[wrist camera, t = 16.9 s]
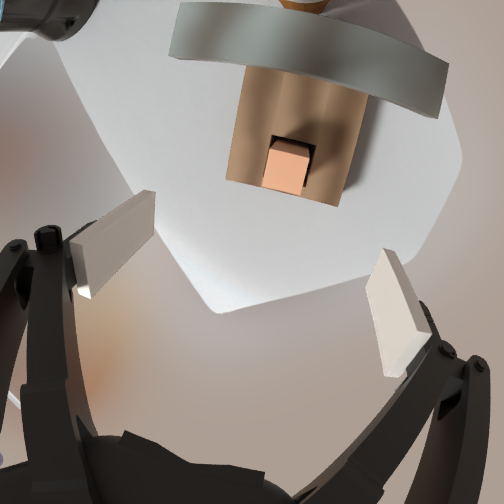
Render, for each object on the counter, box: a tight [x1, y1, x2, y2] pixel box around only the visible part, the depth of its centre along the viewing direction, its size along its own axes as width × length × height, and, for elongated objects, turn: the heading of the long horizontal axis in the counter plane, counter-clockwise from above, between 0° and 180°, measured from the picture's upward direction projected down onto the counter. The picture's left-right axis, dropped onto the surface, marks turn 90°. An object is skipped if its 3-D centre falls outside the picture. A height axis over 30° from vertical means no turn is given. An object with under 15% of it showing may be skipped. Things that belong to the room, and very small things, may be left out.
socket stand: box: [168, 2, 449, 207], centre depth 28 cm, size 17×18×26 cm
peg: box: [262, 138, 310, 196], centre depth 36 cm, size 4×4×12 cm
